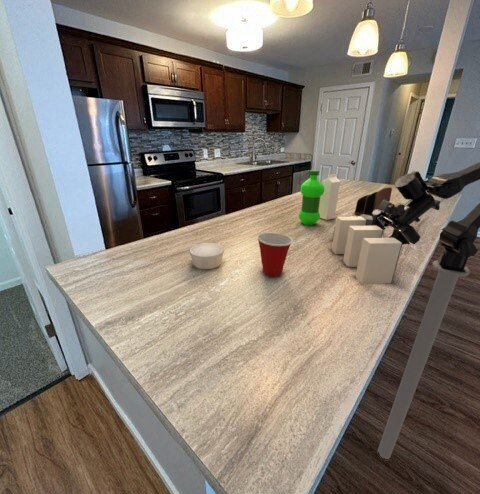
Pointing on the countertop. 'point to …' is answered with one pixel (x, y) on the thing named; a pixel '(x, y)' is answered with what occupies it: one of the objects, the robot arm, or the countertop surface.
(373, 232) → the cream rectangular block
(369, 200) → the letter holder
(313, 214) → the plastic bottle
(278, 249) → the plastic cup
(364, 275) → the white books
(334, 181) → the milk
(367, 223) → the grey books
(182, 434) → the countertop surface
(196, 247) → the ramekin
